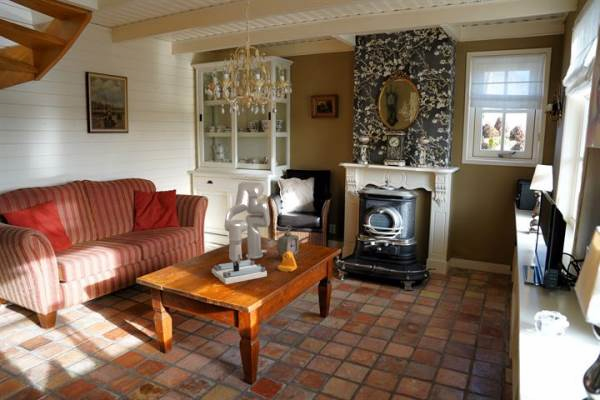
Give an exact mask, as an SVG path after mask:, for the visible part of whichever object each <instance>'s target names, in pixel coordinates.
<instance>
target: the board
mask: <svg viewBox="0 0 600 400" xmlns="http://www.w3.org/2000/svg"><path fill="white" fill-rule="evenodd" d="M246 260H250V261H251V265H247V266H240V267H239V269H243V268H250V267H256V266H260V267H262V271H260V272H254V273H248V274H242V275H236V276H230V275H229V274H228V271H231V270H233V268H228V269H222V270H221V269H220V267H218V264H217V265H216V264H215V265H213V268H211V274H212V273H213V274H214V275H213V274H212V275H213V276H214V277H216V278H217V277H218V278H219V279H218V278H217V279H218V280H220V281H221V282H222V283H223V284H225V285H229V284H234V283H238V282H245V281H248V280H253V279H254V280H255V279H260V278H264V277H267V276H268V273H267V270H266V266H261V263H260V264H255V260H251V258H247V257H246Z"/></svg>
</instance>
